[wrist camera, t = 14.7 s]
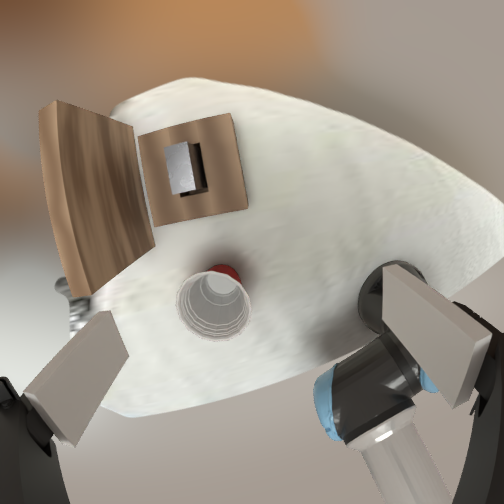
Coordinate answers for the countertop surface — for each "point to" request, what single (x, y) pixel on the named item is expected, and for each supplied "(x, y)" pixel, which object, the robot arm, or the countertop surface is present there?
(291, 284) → the countertop surface
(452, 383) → the robot arm
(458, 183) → the countertop surface
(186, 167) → the dark grey rectangular post
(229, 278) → the plastic cup
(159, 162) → the wooden panel stand
